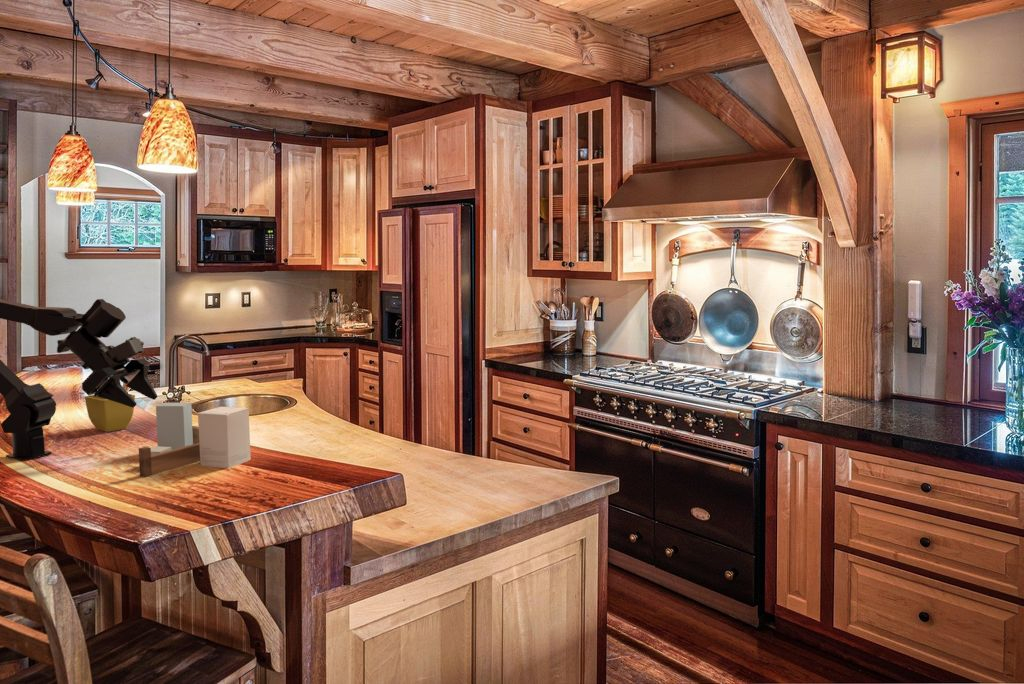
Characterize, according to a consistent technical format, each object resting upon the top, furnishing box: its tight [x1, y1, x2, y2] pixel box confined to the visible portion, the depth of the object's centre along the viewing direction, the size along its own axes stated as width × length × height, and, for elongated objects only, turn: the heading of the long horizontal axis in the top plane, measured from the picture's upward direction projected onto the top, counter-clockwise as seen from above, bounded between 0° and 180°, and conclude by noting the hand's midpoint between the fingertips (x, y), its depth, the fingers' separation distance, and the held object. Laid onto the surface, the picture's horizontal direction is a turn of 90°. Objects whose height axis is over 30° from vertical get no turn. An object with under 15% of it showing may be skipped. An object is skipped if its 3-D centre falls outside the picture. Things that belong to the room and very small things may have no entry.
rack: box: [138, 425, 200, 478], centre depth 159 cm, size 18×26×7 cm
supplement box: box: [197, 406, 252, 469], centre depth 155 cm, size 7×7×13 cm
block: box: [155, 402, 194, 450], centre depth 164 cm, size 6×4×12 cm, turn 89°
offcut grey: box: [150, 445, 172, 455], centre depth 152 cm, size 4×4×2 cm
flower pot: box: [84, 393, 136, 433], centre depth 191 cm, size 9×9×9 cm
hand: (145, 402), depth 163 cm, fingers open, 9 cm apart
